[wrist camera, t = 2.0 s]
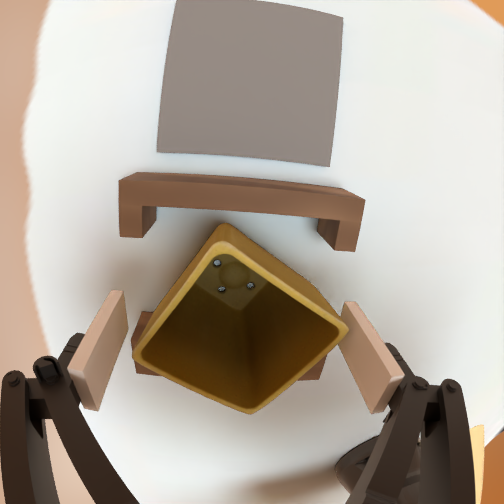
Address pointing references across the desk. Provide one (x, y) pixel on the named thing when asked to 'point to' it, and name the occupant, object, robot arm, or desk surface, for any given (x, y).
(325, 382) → the desk surface
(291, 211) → the pair of brown brackets
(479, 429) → the cone light
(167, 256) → the desk surface
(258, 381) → the flower pot
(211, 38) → the slate mat
